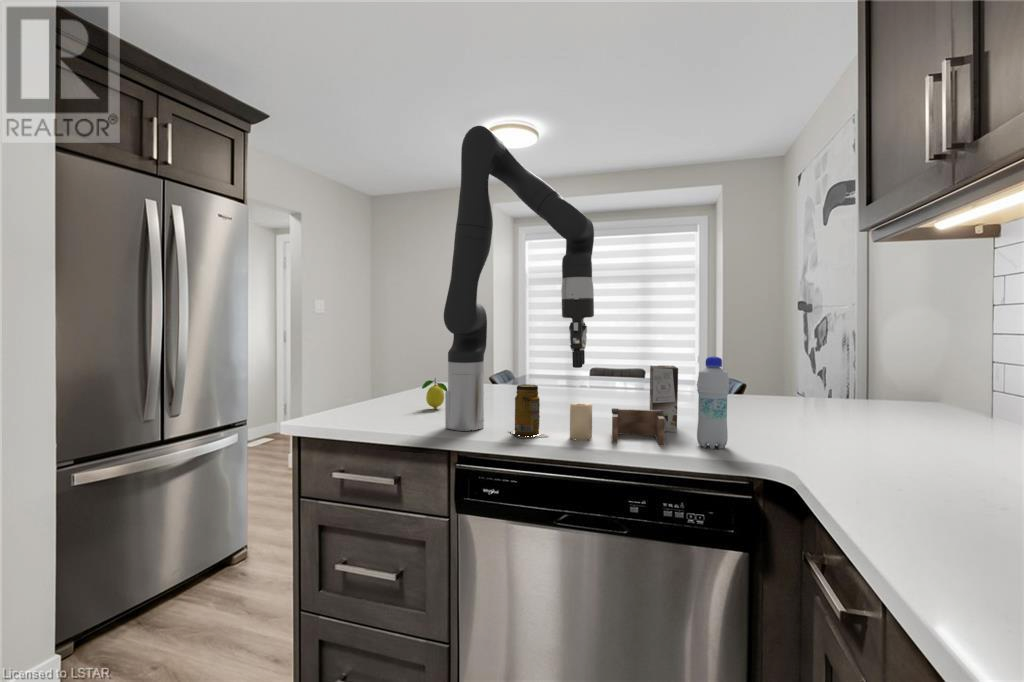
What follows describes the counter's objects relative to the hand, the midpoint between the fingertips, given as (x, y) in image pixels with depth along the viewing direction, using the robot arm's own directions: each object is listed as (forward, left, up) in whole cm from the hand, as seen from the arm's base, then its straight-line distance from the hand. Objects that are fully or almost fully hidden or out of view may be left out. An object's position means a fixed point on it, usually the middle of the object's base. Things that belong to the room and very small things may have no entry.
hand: (578, 366), depth 120 cm
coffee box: (+21, +16, -17) cm, 31 cm away
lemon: (-47, +30, -17) cm, 58 cm away
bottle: (+30, -2, -17) cm, 34 cm away
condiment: (-12, +1, -17) cm, 21 cm away
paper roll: (+1, 0, -17) cm, 17 cm away
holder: (+14, +2, -17) cm, 22 cm away
